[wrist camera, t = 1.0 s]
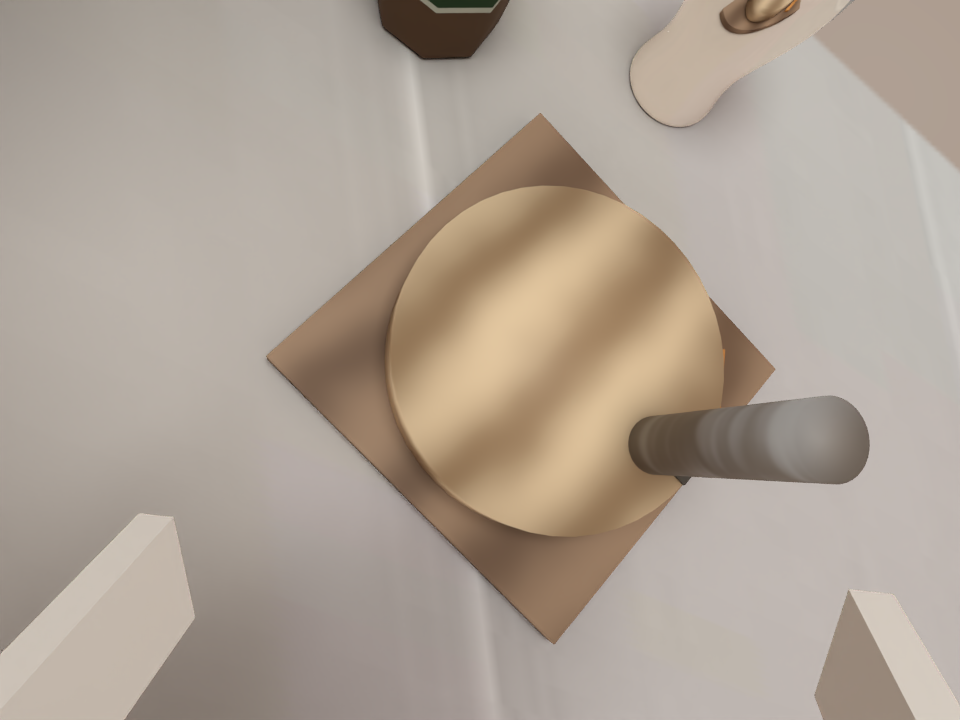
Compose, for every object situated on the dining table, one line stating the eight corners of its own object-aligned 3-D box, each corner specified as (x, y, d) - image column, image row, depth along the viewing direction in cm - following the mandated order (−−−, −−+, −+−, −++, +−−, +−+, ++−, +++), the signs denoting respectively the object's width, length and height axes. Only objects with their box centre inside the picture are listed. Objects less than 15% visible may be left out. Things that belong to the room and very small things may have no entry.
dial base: (267, 359, 34) (265, 355, 32) (533, 122, 40) (542, 110, 38) (546, 638, 35) (556, 646, 34) (762, 371, 41) (778, 368, 40)
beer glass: (718, 47, 44) (918, -151, 30) (717, 143, 43) (924, -14, 29) (624, 23, 42) (786, -199, 28) (620, 123, 41) (787, -55, 27)
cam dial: (310, 356, 33) (312, 279, 19) (542, 145, 38) (685, -44, 24) (554, 603, 34) (731, 708, 20) (747, 367, 39) (999, 317, 25)
